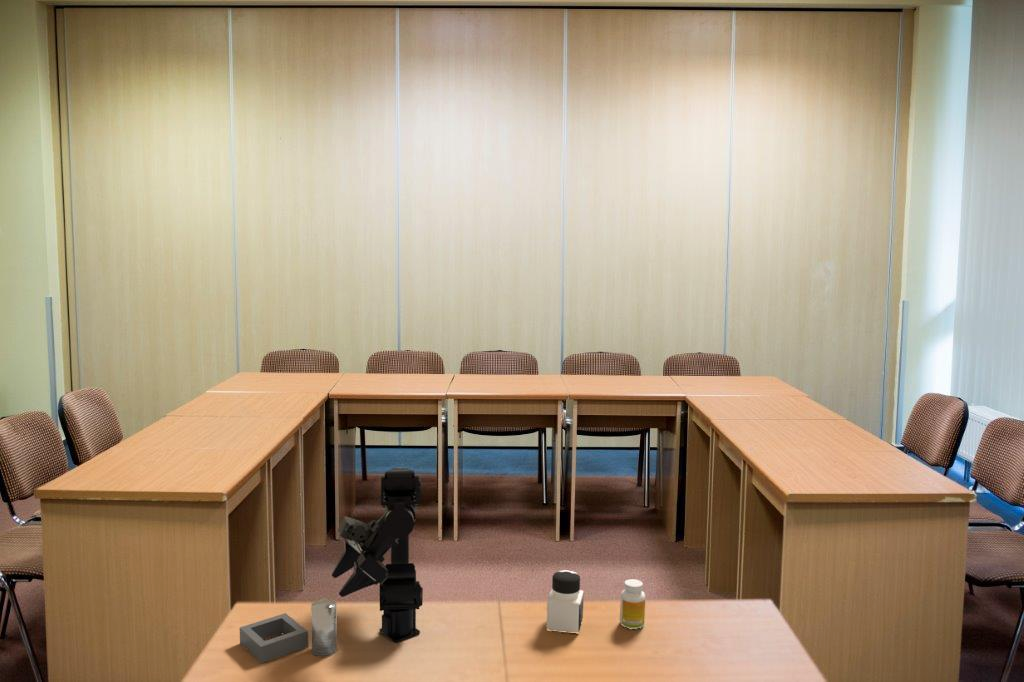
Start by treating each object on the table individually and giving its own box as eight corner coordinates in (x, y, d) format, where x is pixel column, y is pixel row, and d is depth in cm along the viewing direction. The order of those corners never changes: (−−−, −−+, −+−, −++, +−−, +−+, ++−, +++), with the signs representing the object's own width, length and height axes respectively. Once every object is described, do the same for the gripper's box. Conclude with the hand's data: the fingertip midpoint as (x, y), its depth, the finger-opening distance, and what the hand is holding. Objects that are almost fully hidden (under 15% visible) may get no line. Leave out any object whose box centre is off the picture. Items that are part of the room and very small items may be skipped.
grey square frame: (285, 628, 178) (285, 613, 178) (308, 646, 171) (307, 630, 170) (239, 643, 172) (239, 627, 171) (261, 663, 164) (260, 646, 164)
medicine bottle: (579, 635, 178) (580, 582, 176) (546, 631, 179) (547, 578, 178) (582, 620, 185) (584, 568, 183) (551, 616, 186) (552, 565, 185)
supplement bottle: (648, 629, 181) (649, 587, 180) (624, 631, 180) (626, 589, 179) (638, 617, 187) (640, 576, 185) (616, 619, 185) (617, 578, 184)
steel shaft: (329, 642, 173) (328, 596, 172) (341, 651, 169) (341, 605, 168) (307, 649, 170) (306, 603, 168) (319, 659, 166) (318, 612, 165)
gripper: (353, 490, 177) (301, 545, 174) (371, 519, 160) (313, 581, 157) (390, 521, 181) (340, 576, 178) (411, 553, 163) (355, 614, 161)
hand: (336, 585), depth 169 cm, fingers open, 9 cm apart
